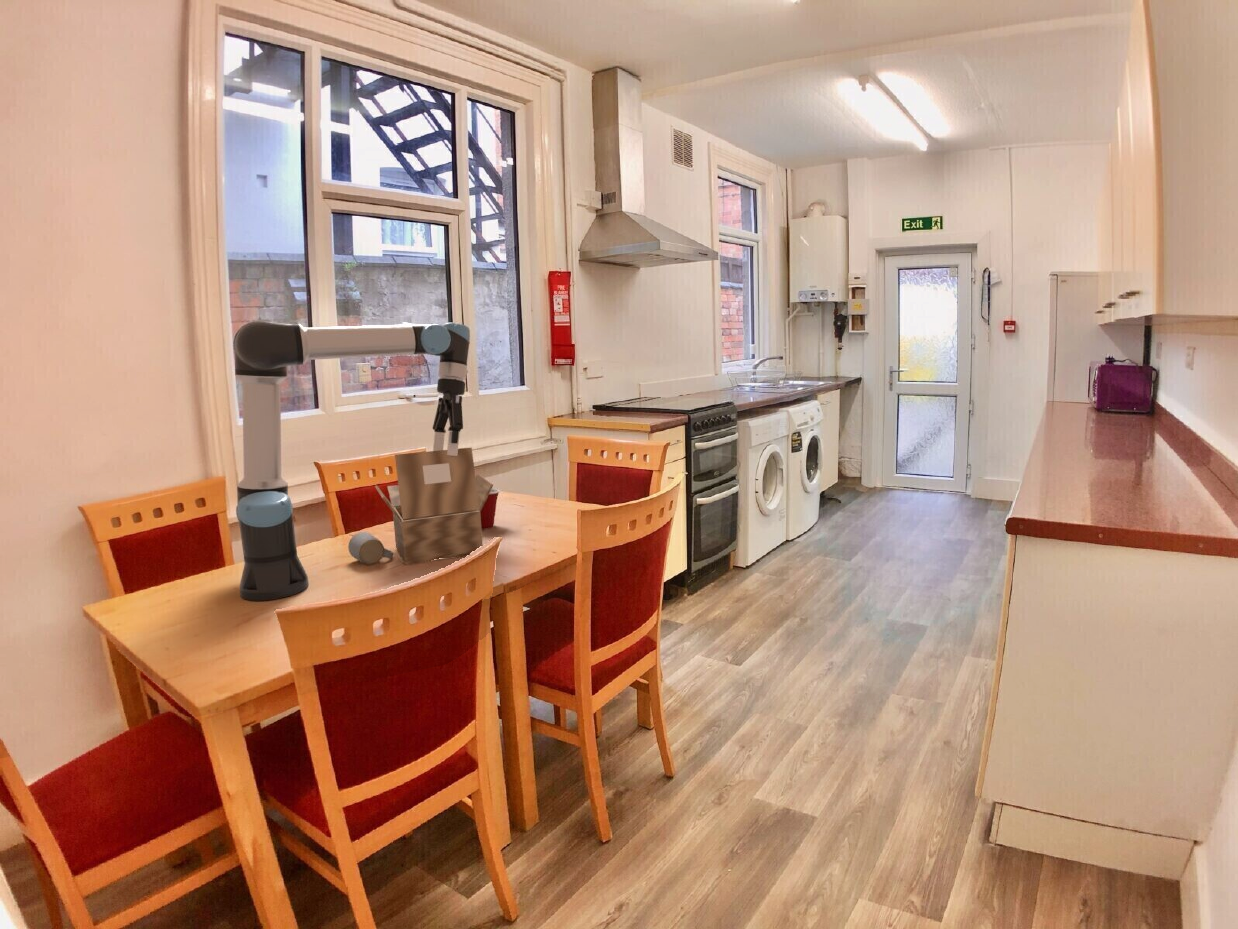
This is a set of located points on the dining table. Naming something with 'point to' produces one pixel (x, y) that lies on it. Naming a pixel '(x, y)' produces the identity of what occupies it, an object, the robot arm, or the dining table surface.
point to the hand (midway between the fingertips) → (444, 455)
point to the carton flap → (436, 483)
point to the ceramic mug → (367, 548)
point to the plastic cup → (489, 510)
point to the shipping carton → (437, 529)
